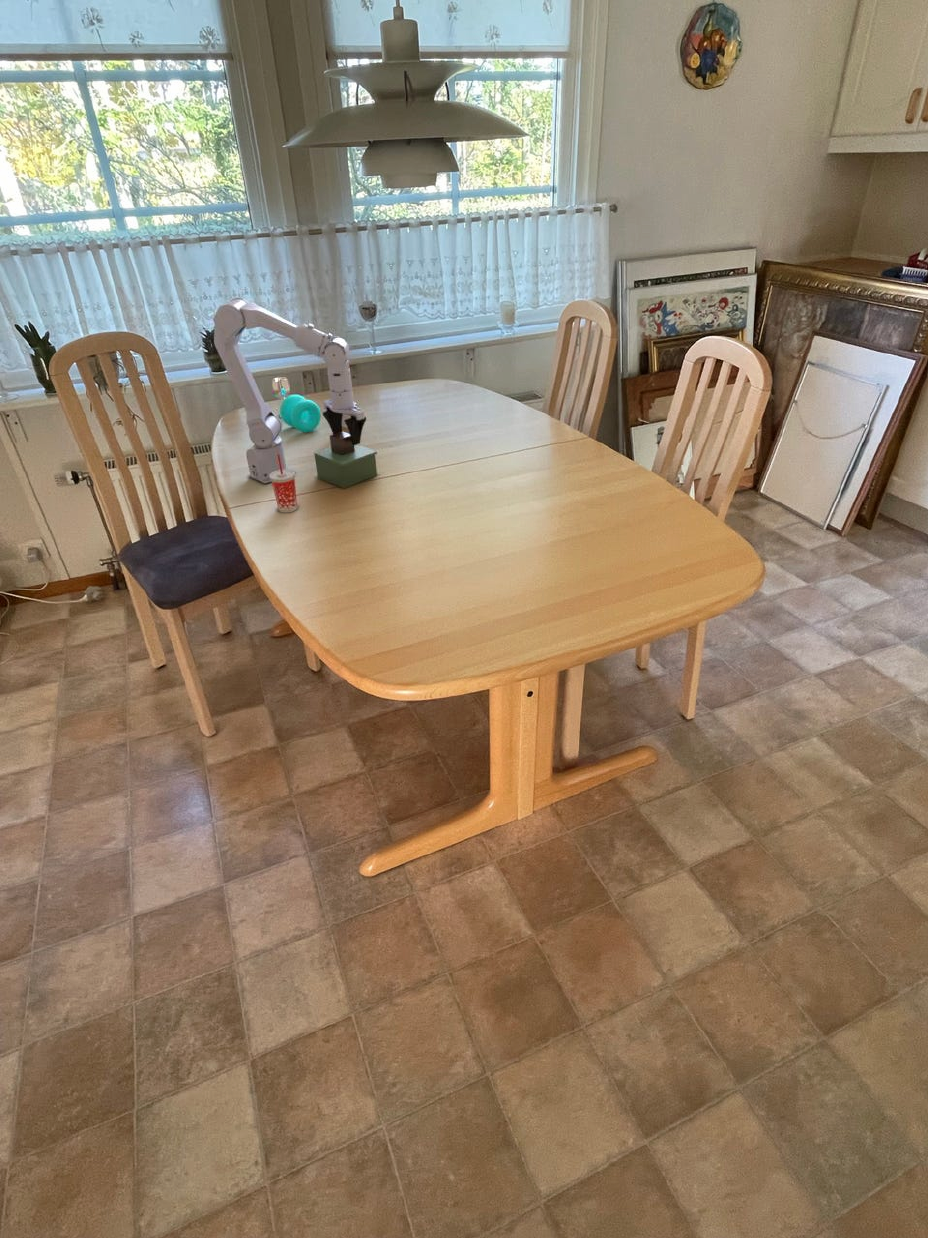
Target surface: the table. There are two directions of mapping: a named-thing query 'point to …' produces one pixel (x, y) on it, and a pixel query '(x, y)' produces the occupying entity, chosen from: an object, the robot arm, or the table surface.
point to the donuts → (300, 413)
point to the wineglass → (281, 388)
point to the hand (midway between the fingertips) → (347, 440)
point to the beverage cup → (284, 488)
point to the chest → (346, 471)
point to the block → (341, 443)
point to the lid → (346, 455)
